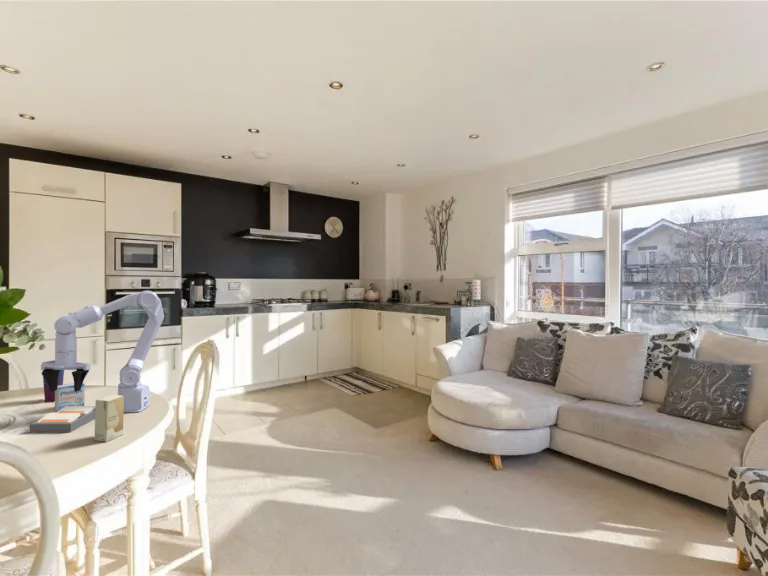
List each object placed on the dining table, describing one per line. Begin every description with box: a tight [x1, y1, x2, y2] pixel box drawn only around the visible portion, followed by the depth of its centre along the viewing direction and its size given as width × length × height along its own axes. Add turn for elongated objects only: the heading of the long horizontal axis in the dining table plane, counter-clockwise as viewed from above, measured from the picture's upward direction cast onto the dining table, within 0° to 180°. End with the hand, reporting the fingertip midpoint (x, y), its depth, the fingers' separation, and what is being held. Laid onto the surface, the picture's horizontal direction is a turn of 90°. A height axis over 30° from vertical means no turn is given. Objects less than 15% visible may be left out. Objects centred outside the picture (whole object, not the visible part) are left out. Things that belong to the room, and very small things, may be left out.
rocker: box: [37, 412, 80, 423], centre depth 125 cm, size 10×5×1 cm, turn 95°
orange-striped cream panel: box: [56, 405, 95, 415], centre depth 132 cm, size 10×5×1 cm, turn 95°
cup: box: [41, 359, 65, 403], centre depth 151 cm, size 7×7×15 cm
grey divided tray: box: [28, 409, 95, 434], centre depth 129 cm, size 12×15×3 cm
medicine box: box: [54, 382, 86, 412], centre depth 143 cm, size 8×4×9 cm, turn 143°
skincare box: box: [94, 394, 125, 443], centre depth 118 cm, size 6×4×12 cm
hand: (65, 390), depth 133 cm, fingers open, 7 cm apart
